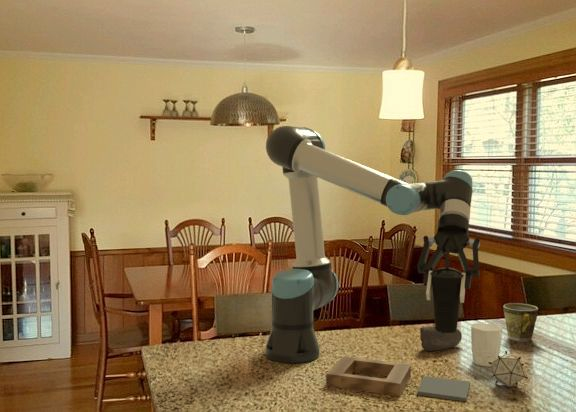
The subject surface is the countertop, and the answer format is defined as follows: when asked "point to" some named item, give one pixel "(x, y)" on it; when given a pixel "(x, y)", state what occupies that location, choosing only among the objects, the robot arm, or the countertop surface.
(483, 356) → the white cup
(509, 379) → the game die
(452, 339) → the perforated stone tool
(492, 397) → the countertop surface
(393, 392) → the holder frame
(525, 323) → the ceramic cup
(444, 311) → the drinking cup
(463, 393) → the slate mat
